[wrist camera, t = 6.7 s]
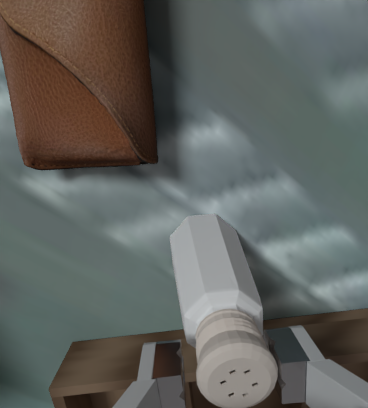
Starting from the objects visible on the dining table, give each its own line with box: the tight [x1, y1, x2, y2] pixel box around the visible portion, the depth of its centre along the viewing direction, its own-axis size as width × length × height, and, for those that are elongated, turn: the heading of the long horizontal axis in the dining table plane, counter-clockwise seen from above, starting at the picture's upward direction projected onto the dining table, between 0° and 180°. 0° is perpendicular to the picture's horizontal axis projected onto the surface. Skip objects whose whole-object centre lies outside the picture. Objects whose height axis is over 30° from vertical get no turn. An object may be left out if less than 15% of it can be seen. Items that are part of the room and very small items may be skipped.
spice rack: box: [49, 308, 368, 408], centre depth 20 cm, size 27×10×4 cm, turn 96°
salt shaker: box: [170, 214, 278, 408], centre depth 13 cm, size 5×5×11 cm
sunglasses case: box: [0, 0, 158, 170], centre depth 13 cm, size 18×7×7 cm
